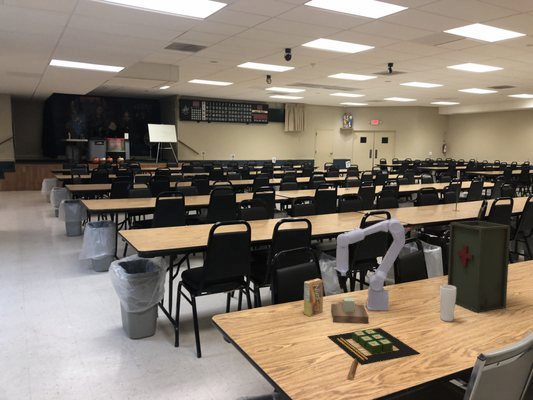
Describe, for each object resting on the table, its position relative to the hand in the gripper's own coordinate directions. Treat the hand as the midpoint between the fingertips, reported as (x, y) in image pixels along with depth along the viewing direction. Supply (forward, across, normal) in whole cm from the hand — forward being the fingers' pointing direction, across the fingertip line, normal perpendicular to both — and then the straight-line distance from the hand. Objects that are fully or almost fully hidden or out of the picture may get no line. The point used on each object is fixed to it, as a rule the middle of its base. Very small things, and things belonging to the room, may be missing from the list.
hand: (341, 286), depth 206 cm
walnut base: (+9, +15, +2) cm, 18 cm away
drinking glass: (+10, +15, +45) cm, 48 cm away
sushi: (+10, +44, +8) cm, 46 cm away
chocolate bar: (+10, +65, -2) cm, 66 cm away
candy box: (+10, +12, -14) cm, 21 cm away
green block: (+6, +15, +2) cm, 16 cm away
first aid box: (+10, -7, +66) cm, 67 cm away
